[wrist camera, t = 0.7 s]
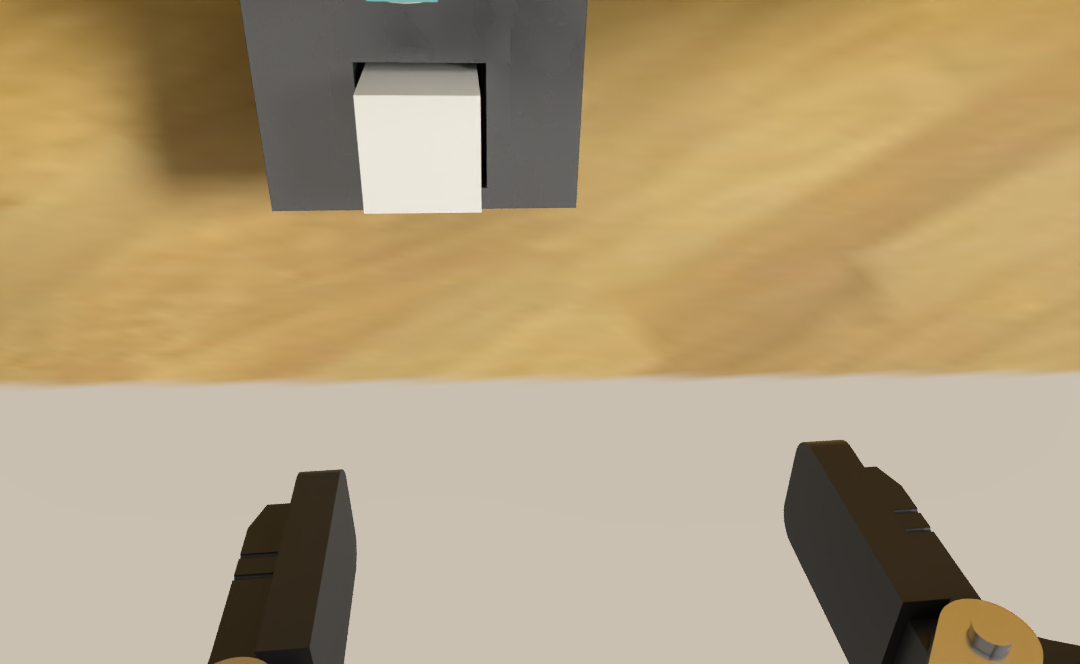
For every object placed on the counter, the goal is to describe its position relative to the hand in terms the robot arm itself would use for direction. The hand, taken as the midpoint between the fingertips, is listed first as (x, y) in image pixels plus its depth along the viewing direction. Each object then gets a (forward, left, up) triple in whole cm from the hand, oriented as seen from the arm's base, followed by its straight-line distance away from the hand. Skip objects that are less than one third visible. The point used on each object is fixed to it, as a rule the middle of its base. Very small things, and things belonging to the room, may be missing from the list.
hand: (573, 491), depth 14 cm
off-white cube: (-1, -3, -19) cm, 19 cm away
